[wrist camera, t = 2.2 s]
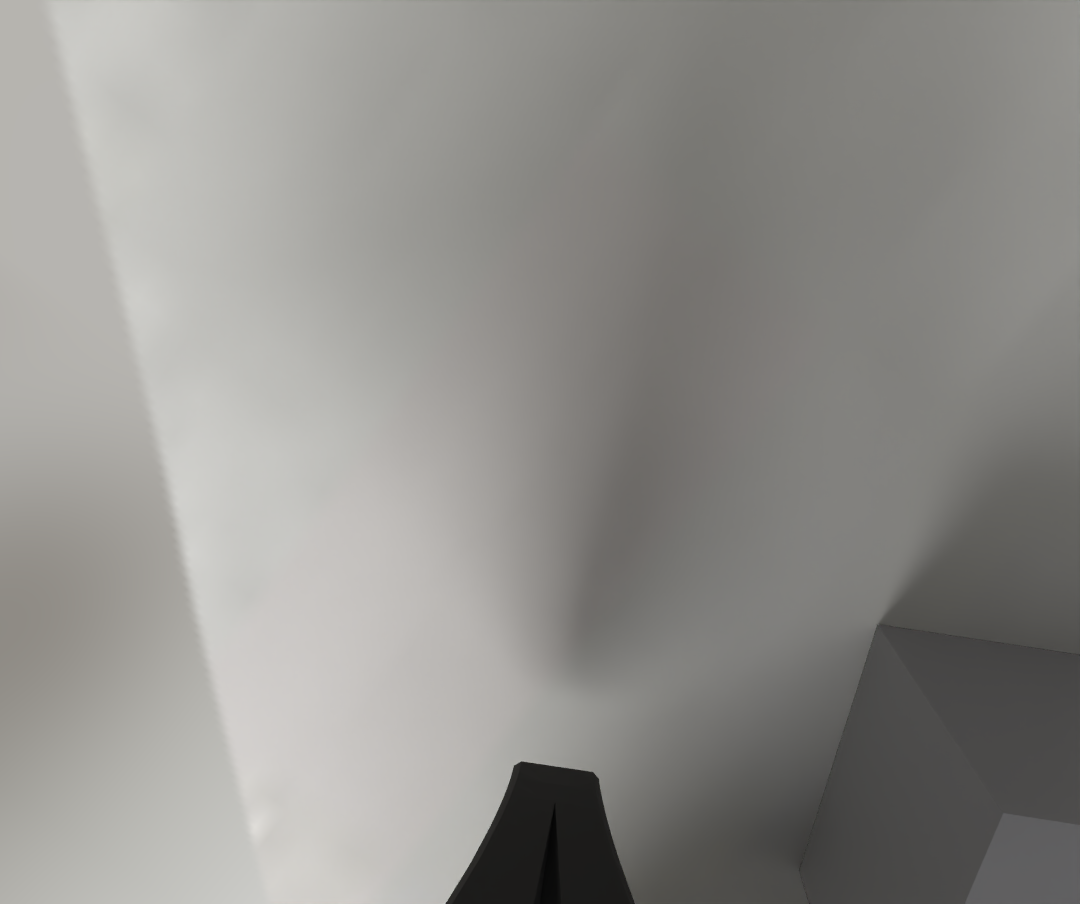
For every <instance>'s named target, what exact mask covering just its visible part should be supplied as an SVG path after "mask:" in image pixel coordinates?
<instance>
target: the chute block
mask: <svg viewBox="0 0 1080 904" xmlns="http://www.w3.org/2000/svg"><path fill="white" fill-rule="evenodd" d="M799 871H800V875H801V878H802V881H803V885H804V888H805V891H806V895H807V898H808V901H809V904H1080V655H1077V654H1071V653H1064V652H1057V651H1051V650H1044V649H1037V648H1031V647H1024V646H1018V645H1011V644H1004V643H998V642H991V641H984V640H978V639H971V638H964V637H958V636H951V635H944V634H938V633H931V632H925V631H918V630H911V629H905V628H898V627H891V626H885V625H877V628H876V631H875V634H874V638H873V641H872V644H871V647H870V650H869V653H868V656H867V659H866V663H865V666H864V669H863V672H862V675H861V678H860V681H859V684H858V688H857V691H856V694H855V697H854V700H853V703H852V706H851V709H850V713H849V716H848V719H847V722H846V725H845V728H844V731H843V735H842V738H841V741H840V744H839V747H838V750H837V753H836V756H835V760H834V763H833V766H832V769H831V772H830V775H829V778H828V781H827V785H826V788H825V791H824V794H823V797H822V800H821V803H820V806H819V810H818V813H817V816H816V819H815V822H814V825H813V828H812V832H811V835H810V838H809V841H808V844H807V847H806V850H805V853H804V857H803V860H802V863H801V866H800V869H799Z"/></svg>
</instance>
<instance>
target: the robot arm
mask: <svg viewBox="0 0 1080 904" xmlns="http://www.w3.org/2000/svg"><path fill="white" fill-rule="evenodd" d="M446 904H635V903H634V900H633V898H632V895H631V892H630V889H629V887H628V884H627V881H626V878H625V875H624V873H623V870H622V867H621V864H620V861H619V858H618V855H617V852H616V849H615V846H614V842H613V839H612V836H611V832H610V829H609V825H608V822H607V818H606V814H605V810H604V805H603V801H602V796H601V791H600V785H599V779H598V777H597V776H596V775H595V774H594V773H593V772H588V771H581V770H575V769H568V768H561V767H555V766H548V765H541V764H534V763H528V762H520V763H518V764H516V765H515V766H514V768H513V772H512V776H511V779H510V782H509V785H508V788H507V790H506V793H505V796H504V798H503V800H502V803H501V805H500V807H499V809H498V811H497V814H496V816H495V818H494V820H493V822H492V824H491V826H490V828H489V830H488V832H487V834H486V836H485V838H484V839H483V841H482V843H481V845H480V847H479V849H478V851H477V852H476V854H475V856H474V858H473V860H472V862H471V863H470V865H469V867H468V869H467V870H466V872H465V873H464V875H463V877H462V878H461V880H460V882H459V883H458V885H457V886H456V888H455V890H454V891H453V893H452V894H451V896H450V898H449V899H448V901H447V902H446Z"/></svg>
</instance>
